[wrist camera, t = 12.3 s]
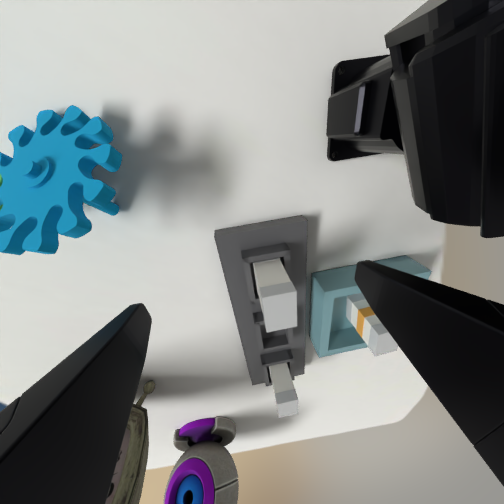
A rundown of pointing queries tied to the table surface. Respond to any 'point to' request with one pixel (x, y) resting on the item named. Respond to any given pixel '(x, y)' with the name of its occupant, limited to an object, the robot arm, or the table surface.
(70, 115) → the gear
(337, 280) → the tray
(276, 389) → the block
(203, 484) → the webcam
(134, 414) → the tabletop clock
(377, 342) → the marked fuse
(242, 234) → the fuse holder
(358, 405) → the table surface
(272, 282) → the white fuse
